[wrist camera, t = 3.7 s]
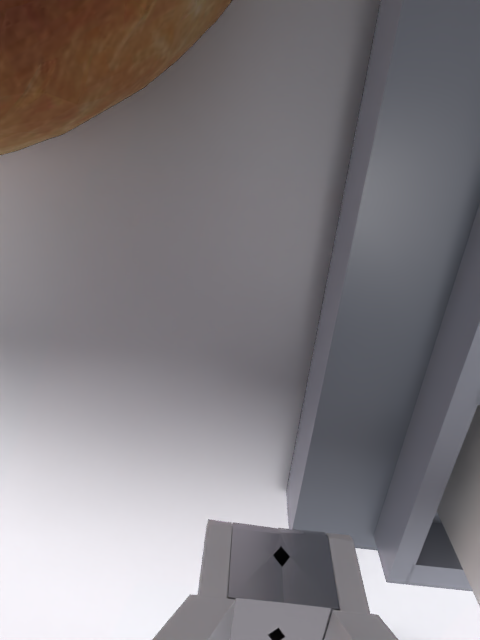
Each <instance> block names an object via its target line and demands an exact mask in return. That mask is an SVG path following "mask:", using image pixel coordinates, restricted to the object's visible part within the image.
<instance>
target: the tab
mask: <svg viewBox="0 0 480 640" xmlns="http://www.w3.org/2000/svg"><path fill="white" fill-rule="evenodd" d="M437 513H438V515H439V517H440V519H441V522H442V524H443V526H444V528H445V531H446V533H447V535H448V537H449V539H450V542H451V544H452V546H453V548H454V550H455V553H456V555H457V557H458V559H459V562H460V564H461V566H462V568H463V570H464V573H465V575H466V577H467V579H468V582H469V584H470V586H471V588H472V590H473V593H474V595H475V597H476V599H477V601H478V604H479V606H480V405H478V406H477V408H476V411H475V414H474V416H473V419H472V421H471V424H470V426H469V429H468V432H467V434H466V437H465V439H464V442H463V444H462V447H461V450H460V452H459V455H458V457H457V460H456V462H455V465H454V468H453V470H452V473H451V475H450V478H449V480H448V483H447V486H446V488H445V491H444V493H443V496H442V498H441V501H440V504H439V506H438V509H437Z"/></svg>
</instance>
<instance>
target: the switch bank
mask: <svg viewBox="0 0 480 640" xmlns="http://www.w3.org/2000/svg"><path fill="white" fill-rule="evenodd" d="M478 405H480V0H381V2H380V7H379V12H378V17H377V22H376V28H375V33H374V38H373V43H372V48H371V54H370V59H369V64H368V69H367V74H366V80H365V85H364V90H363V95H362V100H361V106H360V111H359V116H358V121H357V127H356V132H355V137H354V142H353V147H352V153H351V158H350V163H349V168H348V173H347V179H346V184H345V189H344V194H343V199H342V205H341V210H340V215H339V220H338V225H337V231H336V236H335V241H334V246H333V251H332V257H331V262H330V267H329V272H328V277H327V283H326V288H325V293H324V298H323V303H322V309H321V314H320V319H319V324H318V329H317V335H316V340H315V345H314V350H313V355H312V361H311V366H310V371H309V376H308V381H307V387H306V392H305V397H304V402H303V407H302V413H301V418H300V423H299V428H298V433H297V439H296V444H295V449H294V454H293V460H292V465H291V470H290V475H289V480H288V486H287V491H286V495H287V509H288V523H289V529H296V530H306V531H317V532H324V533H333V534H342V535H350V536H351V538H352V539H353V542H354V546H355V548H361V549H371V550H378V553H379V557H380V561H381V564H382V568H383V571H384V575H385V579H386V582H389V583H399V584H408V585H418V586H427V587H437V588H446V589H456V590H466V591H473V590H472V588H471V586H470V584H469V582H468V579H467V577H466V575H465V573H464V570H463V568H462V566H461V564H460V562H459V559H458V557H457V555H456V553H455V550H454V548H453V546H452V544H451V542H450V539H449V537H448V535H447V533H446V531H445V528H444V526H443V524H442V522H441V519H440V517H439V515H438V513H437V509H438V506H439V504H440V501H441V498H442V496H443V493H444V491H445V488H446V486H447V483H448V480H449V478H450V475H451V473H452V470H453V468H454V465H455V462H456V460H457V457H458V455H459V452H460V450H461V447H462V444H463V442H464V439H465V437H466V434H467V432H468V429H469V426H470V424H471V421H472V419H473V416H474V414H475V411H476V408H477V406H478Z"/></svg>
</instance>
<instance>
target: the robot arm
mask: <svg viewBox="0 0 480 640" xmlns="http://www.w3.org/2000/svg"><path fill="white" fill-rule="evenodd" d="M152 640H398V639H397V638H396V636H395V635H394V634H393V633H392V632H391V630H390V629H389V628H388V627H387V625H386V624H385V623H384V622H383V621H382V619H381V618H380V617H379V616H378V615H375V614H370V611H369V607H368V602H367V598H366V594H365V589H364V585H363V581H362V577H361V572H360V568H359V564H358V559H357V555H356V551H355V546H354V542H353V539H352V538H351V536H350V535H342V534H333V533H324V532H317V531H306V530H296V529H285V528H271V527H263V526H256V525H249V524H241V523H234V522H233V523H232V522H224V521H216V520H209V519H208V523H207V527H206V534H205V542H204V550H203V557H202V565H201V573H200V580H199V588H198V595H191V594H190V595H189V596H188V598H187V599H186V600H185V601H184V602H183V604H182V605H181V606H180V607H179V608H178V610H177V611H176V612H175V613H174V614H173V615H172V617H171V618H170V619H169V620H168V621H167V623H166V624H165V625H164V626H163V627H162V629H161V630H160V631H159V632H158V633H157V635H156V636H155V637H154V638H153V639H152Z"/></svg>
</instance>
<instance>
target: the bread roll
mask: <svg viewBox="0 0 480 640" xmlns="http://www.w3.org/2000/svg"><path fill="white" fill-rule="evenodd" d="M231 1H232V0H0V155H3V154H6V153H10V152H14V151H18V150H21V149H23V148H26V147H29V146H31V145H34V144H36V143H39V142H42V141H44V140H47V139H50V138H53V137H56V136H60V135H63V134H64V133H66V132H68V131H70V130H72V129H74V128H76V127H77V126H79V125H81V124H82V123H84V122H86V121H87V120H89V119H91V118H93V117H94V116H96V115H98V114H100V113H102V112H103V111H105V110H107V109H109V108H110V107H112V106H114V105H116V104H117V103H119V102H121V101H122V100H124V99H126V98H127V97H129V96H131V95H133V94H134V93H136V92H138V91H139V90H141V89H143V88H144V87H145V86H147V85H148V84H149V83H150V82H152V81H153V80H154V79H155V78H156V77H158V76H159V75H160V74H161V73H163V72H164V71H165V70H166V69H167V68H169V67H170V66H171V65H172V64H174V63H175V62H176V61H177V60H178V59H179V58H180V57H181V56H182V55H183V54H184V53H185V52H186V51H187V50H188V49H189V48H191V46H192V45H193V44H194V43H195V42H196V41H197V40H198V39H199V38H200V37H201V36H202V35H203V34H204V33H205V32H206V31H207V30H208V29H209V28H210V27H211V26H212V25H213V24H214V23H215V22H216V21H217V20H218V18H219V17H220V16H221V15H222V13H223V12H224V11H225V9H226V8H227V7H228V6H229V4H230V3H231Z"/></svg>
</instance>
